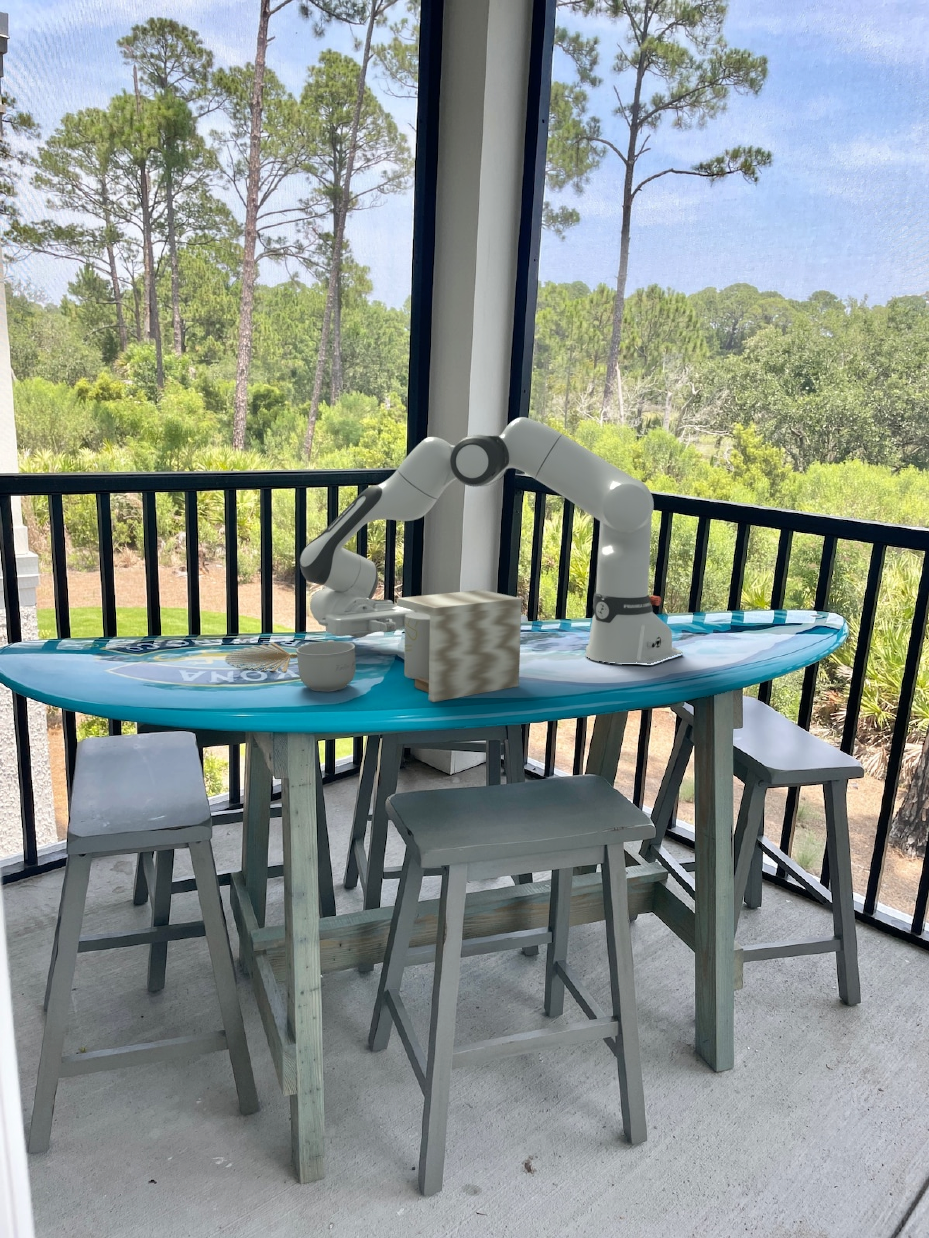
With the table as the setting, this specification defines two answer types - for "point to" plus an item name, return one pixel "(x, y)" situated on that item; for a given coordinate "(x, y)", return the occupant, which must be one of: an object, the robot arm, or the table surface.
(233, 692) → the table surface
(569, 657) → the table surface
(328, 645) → the teacup
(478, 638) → the marbled side table
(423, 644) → the cup
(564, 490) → the robot arm
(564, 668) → the table surface
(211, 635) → the table surface
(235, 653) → the hand fan
